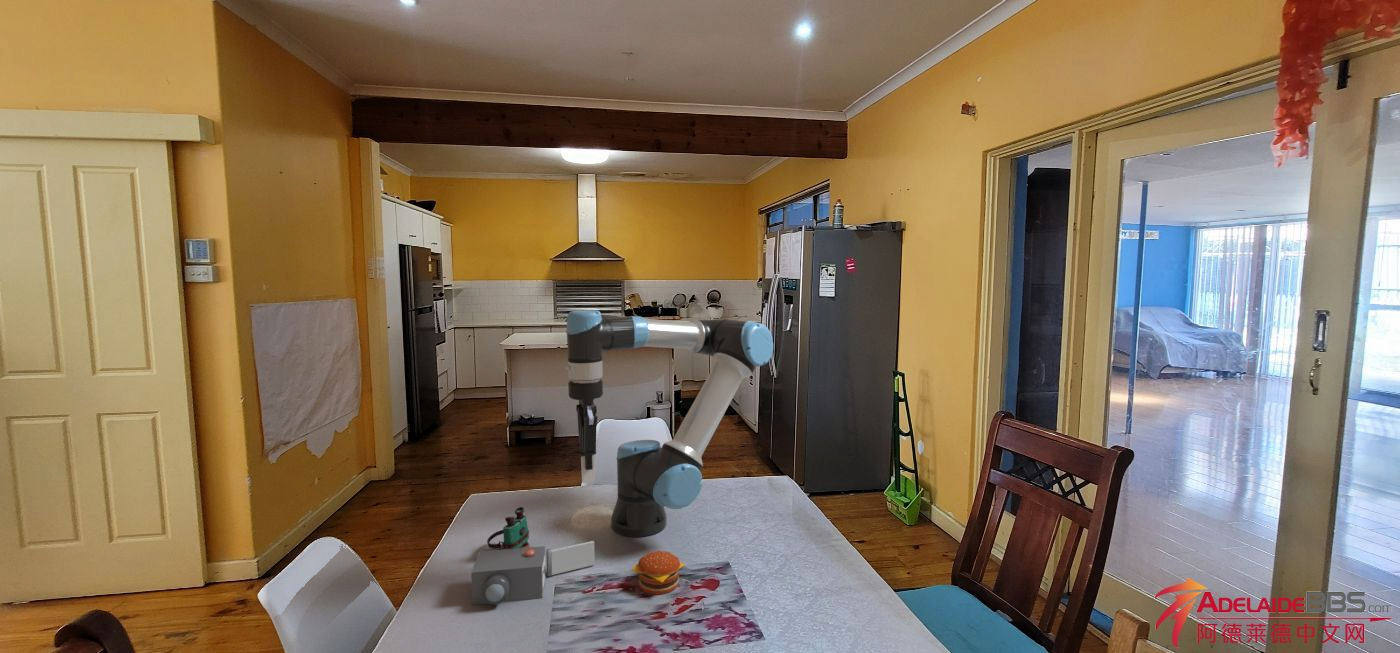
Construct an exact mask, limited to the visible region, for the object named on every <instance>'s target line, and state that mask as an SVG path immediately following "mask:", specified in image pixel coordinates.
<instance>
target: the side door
mask: <svg viewBox="0 0 1400 653" xmlns="http://www.w3.org/2000/svg"><path fill="white" fill-rule="evenodd" d="M545 558H546V577H551V576H554V575H557V574H558V575H559V574H561V573H567V572H570V571H574V570H579V569H583V568H586V567H587V568H588V567H591V566H595V564H596V563H595V558H596V557H595V541H594V540H590V541H587V542H582V543H576V544H572V545H568V546H564V547H559V548H555V549H551V548H547V549H545Z"/></svg>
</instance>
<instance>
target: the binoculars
mask: <svg viewBox="0 0 1400 653" xmlns="http://www.w3.org/2000/svg"><path fill="white" fill-rule="evenodd" d="M524 512H525V508H524V506H520V507H517V508H516V509H515V510H514V513H515V515H516V517H515V516H506V517H504V518H505V519H504V520H505V522H506V525H505V526H503V528H502V529H500V530H498V531H496V532H494V533H493V534H491V535H490V536H489V537H488V538H487V541H486V543H487V547H488V548H490V549H494V550H504V549H516V548H528V547H531V546H530V543H529V542H528V540H529V539H530V530H529V526H528V520H527V516H526V515H525V514H524ZM500 535H503V541H498V543H493V544H492V543H490V542H491V541H492V540H493V539H494V538H495V537H498V536H500Z"/></svg>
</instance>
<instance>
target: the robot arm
mask: <svg viewBox="0 0 1400 653" xmlns="http://www.w3.org/2000/svg"><path fill="white" fill-rule="evenodd" d="M565 332H566V333H565V334H566V341H567V343H566V344H567V345H566V346H567V347H566V348H567V364H568V365H566V366H565V371H568V374H567V375H568V379H569V381H568V383H567V384H568V397H569V398H570V399H572V400H574V401H575V400H576V401H578V404H576V405H575V411H576V414H577V431H578V432H577V433H578V446H579V448H580V449H579V450H580V452H579V453H578V454H579V457H580V462H581V463H580V464H581V466H580V467H581V468H580V469H581V482H582V485H583V484H590V483H595V482H596V480H595V479H596V478H595V477H596V476H595V456H596V454H597V426H598V425H597V424H598V416H597V414H598V413H597V409H598V408H597V405H595V403H594V400H595V399H599V398H601V397H602V396H603V394H604V384H603V382H604V380H602V378H603V377H604V374H603V371H604V370H603V352H609V351H620V350H628V349H631V350H634V349H636V348H641V347H649V348H662V349H664V348H666V349H679V350H681V349H682V350H687V351H688V352H689V353H691V354H699V355H700V354H701V355H706V356H709V357H712V358H713V359H714V362H715V364H714V366H713V367H712V369H711V370H710V372H709V374H708V376H707V377H706V380H705V381H704V383H703V384H702V386H701V389H700V390H699V393H698V394H697V395H696V398H695V399H694V401H693V403H692V404H691V406H690V408H689V410H688V412H687V413H686V415H685V417H684V419H683V421H682V422H681V423H680V425H679V428H678V430H677V431H676V433H675V434H674V436H673V439H671V440H669V441H666V442H664V443H663V444H662V446H661V442H660V441H658V440H655V439H638V440H632V441H628V442H624V443H622V444H620V445H619V446H618V448H617V452H616V453H617V454H616V460H617V461H616V463H617V464H616V466H617V470H616V475H617V476H616V480H617V482H616V483H617V499H616V502H615V504H614V508H613V510H612V514H611V518H610V521H611V522H610V526H611V529H612V531H613V532H615V533H617V534H618V535H620V536H621V535H622V536H625V537H631V538H634V537H635V538H637V537H638V538H639V537H641V538H642V537H648V536H651V535H656V534H657V533H661V532H662V531H663V530H665V529H666V527H667V523H668V522H667V518H668V517H667V512H666V509H665V508H668V509H671V510H681V509H683V508H686V507H688V506H690V505H691V504H693V502H694V501H695V500H696V499H697V498H698V496H699V495H700V493H701V490H702V488H703V482H702V481H703V476H702V473H701V470H702V469H703V466H704V463H703V460H702V456H703V454H704V452H705V451H706V449H707V446H708V445H709V443H710V442H711V439H712V437H713V436H714V433H715V432H716V430H717V428H718V426H719V424H720V423H721V421H722V419H723V417H724V416H725V413H726V411H727V409H728V407H729V406H730V404H731V402H732V400H733V398H734V397H735V395H736V393H737V391H738V389H739V387H740V385H741V383H742V382H743V381H744V379H746V378H749V377H750V378H751V376H752V375H753V373H754V372H755V369H756V367H757V368H758V367H762V366H764V365H766V364H767V363H768V362H769V361H770V360H771V358H772V356H773V352H774V342H773V336H772V335H773V334H772V333H771V331H770V329H769V328H768V327H767V326H766V325H764V324H763V323H761V322H756V321H754V320H753V321H752V320H748V321H745V320H735V319H727V318H719V319H691V320H690V321H679V320H667V319H656V318H645V317H642V316H639V315H638V316H633V315H629V316H625V315H623V316H622V315H613V314H602V313H601V312H600V311H599V310H597V309H596V310H594V309H584V310H583V309H580V310H572V311H570V312H568V314H567V315H566V330H565Z"/></svg>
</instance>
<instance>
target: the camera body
mask: <svg viewBox="0 0 1400 653" xmlns="http://www.w3.org/2000/svg"><path fill="white" fill-rule="evenodd" d="M470 575H471V576H470V577H471V578H470V579H471V603H472V605H484V604H488V605H499V604H501V603H503V602H504V603H505V602H506V603H507V602H514V601H524V600H525V601H526V600H535V599H536V600H537V599H543V597H544V596H543V594H544V588H545V582H546V577H547V564H546V546H543V545H542V546H530V547H528V548H516V549H504V550H497V549H492V550H482V551H479V553H478V555H477V558H476V560H475V563H474V565H473V568H472V570H471V572H470Z"/></svg>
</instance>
